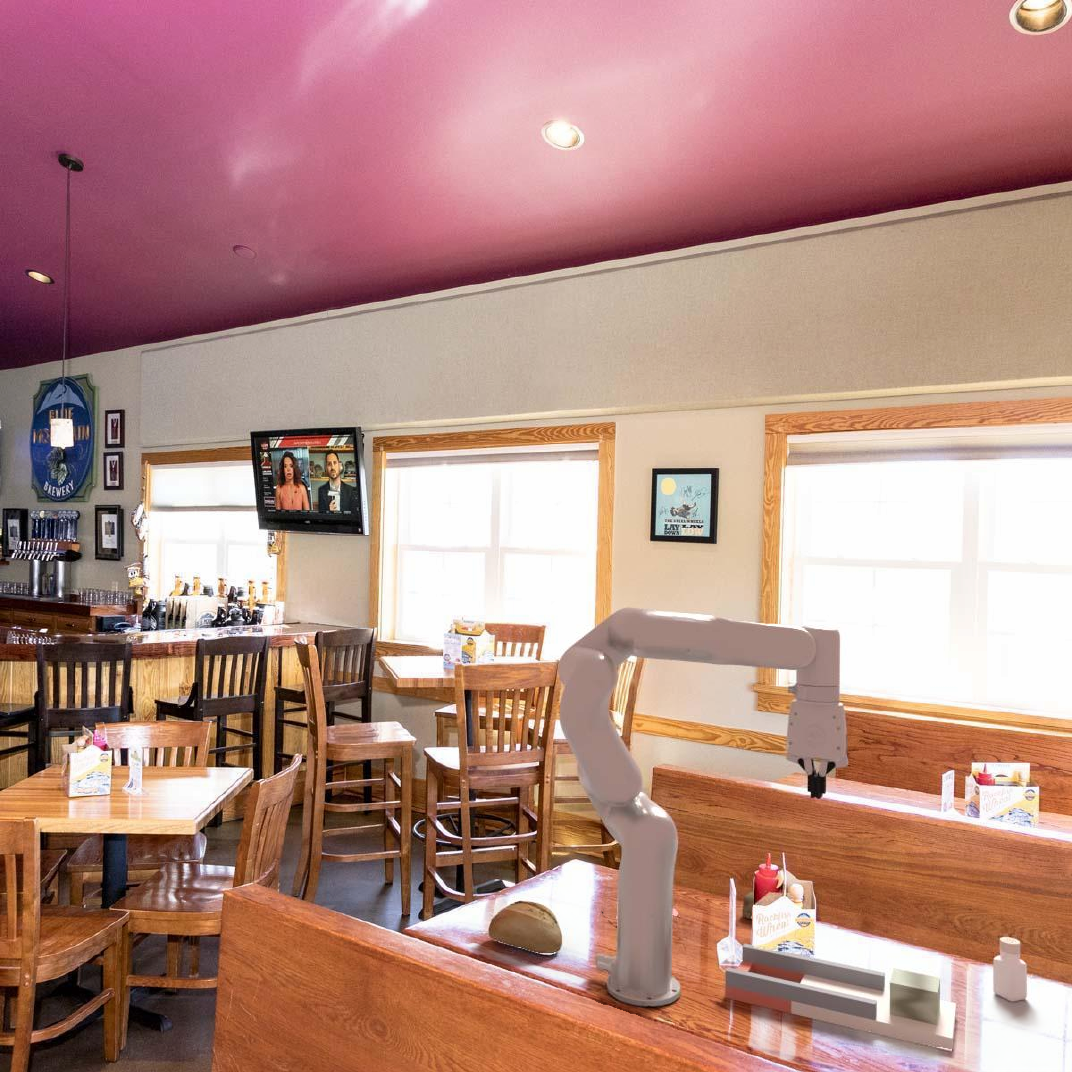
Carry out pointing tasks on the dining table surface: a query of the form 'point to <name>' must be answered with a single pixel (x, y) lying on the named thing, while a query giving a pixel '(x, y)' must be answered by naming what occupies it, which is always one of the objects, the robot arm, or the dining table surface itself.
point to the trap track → (830, 995)
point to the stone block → (748, 905)
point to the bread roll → (527, 927)
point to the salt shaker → (1010, 971)
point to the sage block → (915, 996)
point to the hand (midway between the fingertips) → (816, 796)
